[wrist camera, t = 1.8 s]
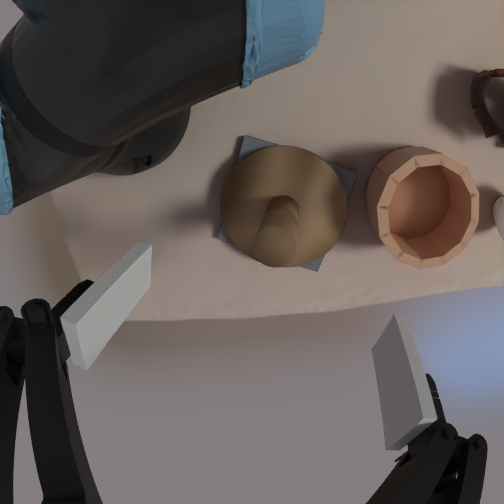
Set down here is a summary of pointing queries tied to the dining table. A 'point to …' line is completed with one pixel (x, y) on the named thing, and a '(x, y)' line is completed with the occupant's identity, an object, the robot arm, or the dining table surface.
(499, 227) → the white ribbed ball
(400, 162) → the terracotta bowl
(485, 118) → the pottery mug
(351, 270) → the dining table surface
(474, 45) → the dining table surface
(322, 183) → the walnut lid
